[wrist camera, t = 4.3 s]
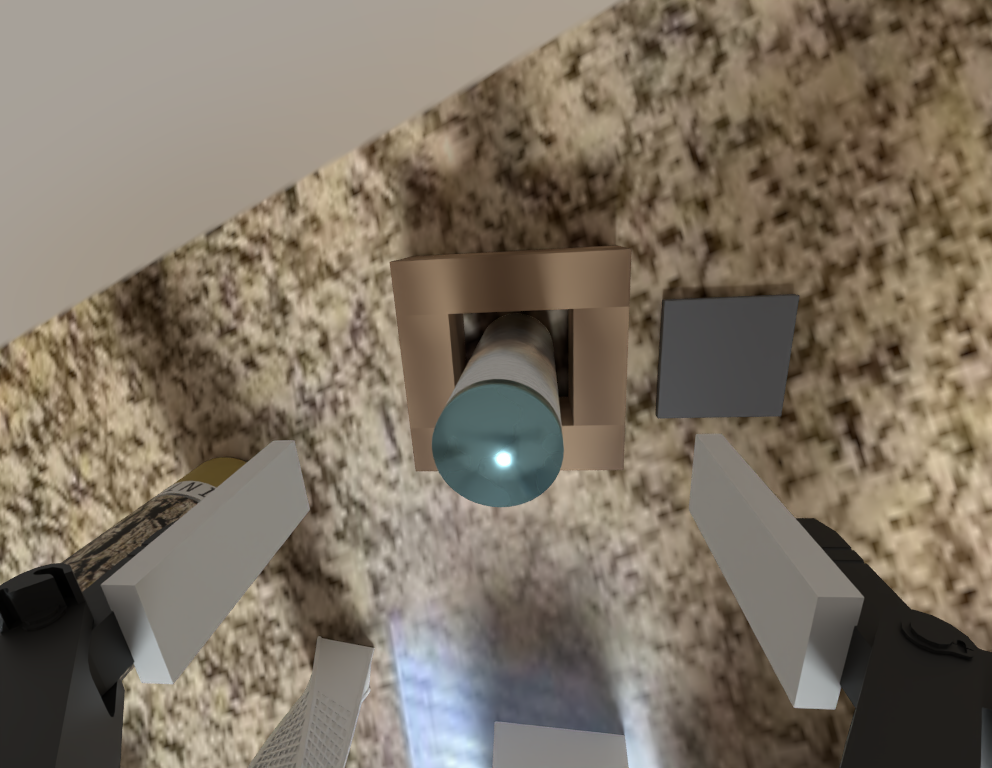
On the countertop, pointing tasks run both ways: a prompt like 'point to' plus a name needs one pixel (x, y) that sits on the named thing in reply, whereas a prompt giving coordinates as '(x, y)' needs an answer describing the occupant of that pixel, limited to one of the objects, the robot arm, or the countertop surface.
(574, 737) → the milk
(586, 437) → the housing
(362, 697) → the skyscraper
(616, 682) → the countertop surface
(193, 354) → the countertop surface
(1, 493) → the countertop surface
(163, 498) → the bark-print cylinder
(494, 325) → the teal-capped metal cylinder
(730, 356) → the mat
